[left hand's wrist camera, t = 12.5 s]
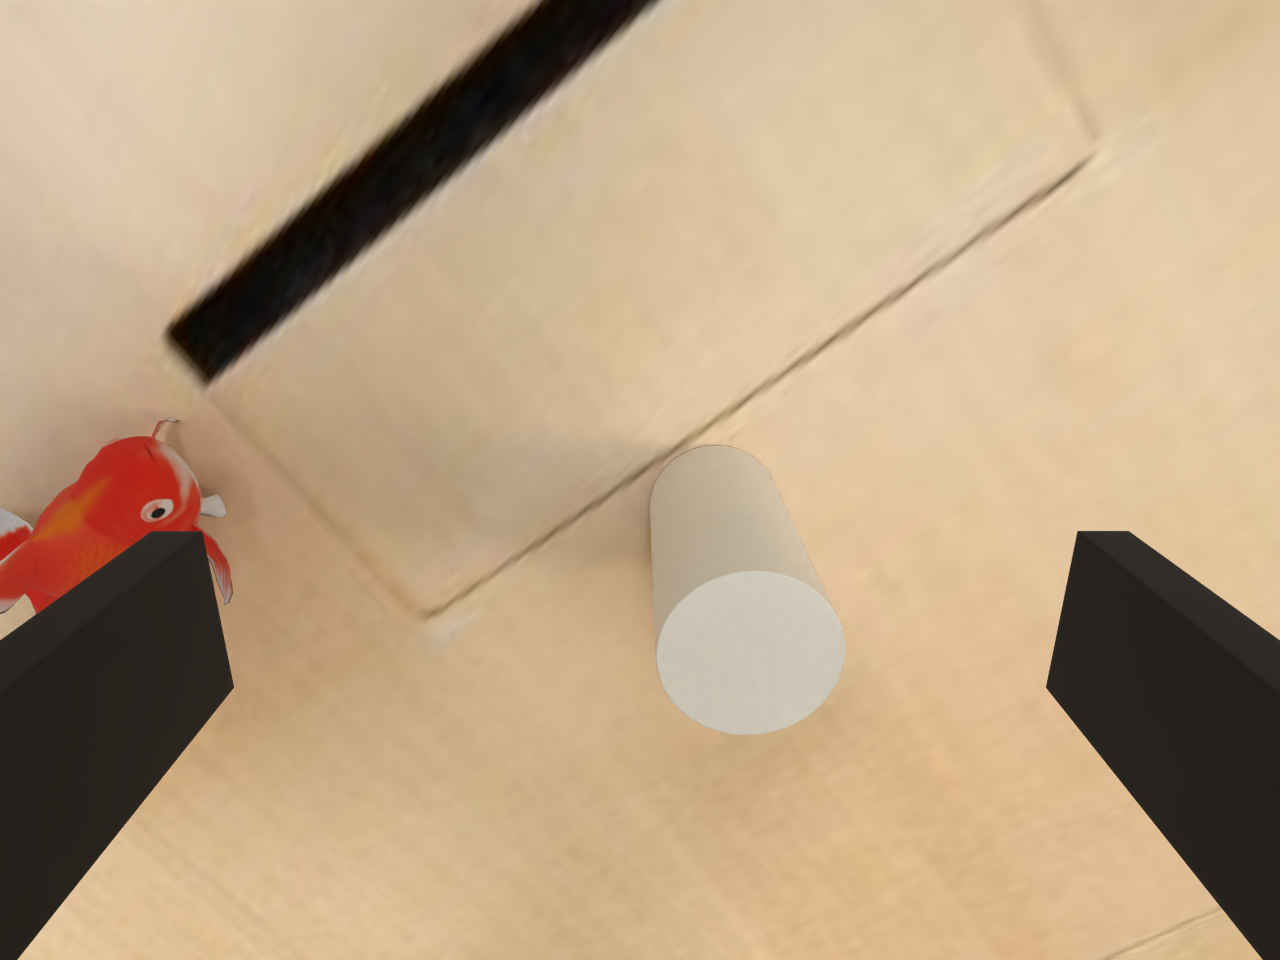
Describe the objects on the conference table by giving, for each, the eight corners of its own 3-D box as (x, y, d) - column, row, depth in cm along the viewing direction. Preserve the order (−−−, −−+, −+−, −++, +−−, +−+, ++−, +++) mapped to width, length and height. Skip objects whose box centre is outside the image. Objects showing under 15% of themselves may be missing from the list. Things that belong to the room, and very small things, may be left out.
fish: (368, 633, 30) (72, 768, 22) (179, 703, 39) (-83, 819, 31) (258, 364, 30) (-79, 399, 22) (94, 494, 39) (-190, 554, 31)
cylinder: (781, 559, 35) (847, 727, 24) (655, 570, 35) (664, 743, 24) (775, 438, 33) (844, 561, 22) (643, 451, 33) (647, 580, 22)
